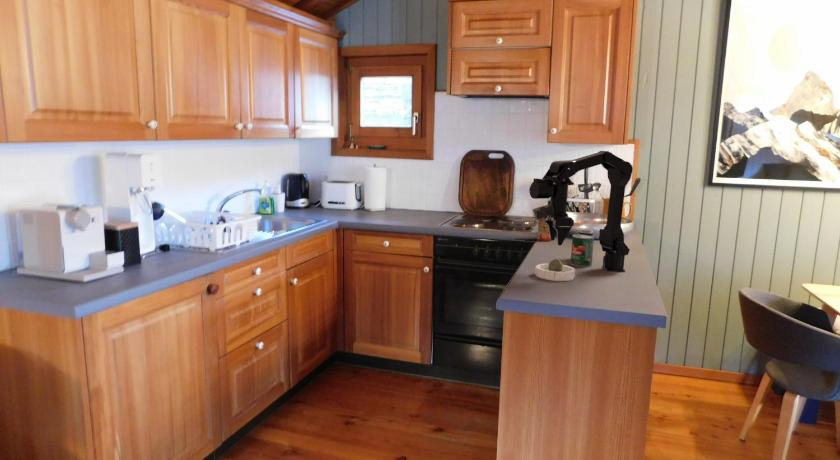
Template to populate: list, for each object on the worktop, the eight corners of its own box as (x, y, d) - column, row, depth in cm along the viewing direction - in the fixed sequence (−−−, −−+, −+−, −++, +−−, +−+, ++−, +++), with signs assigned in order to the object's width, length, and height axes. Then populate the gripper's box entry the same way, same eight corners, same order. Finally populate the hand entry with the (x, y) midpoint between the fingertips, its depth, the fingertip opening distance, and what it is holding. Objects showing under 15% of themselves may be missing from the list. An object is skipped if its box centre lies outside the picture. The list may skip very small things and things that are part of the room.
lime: (562, 275, 196) (563, 261, 195) (547, 274, 197) (548, 260, 196) (562, 272, 200) (563, 258, 200) (547, 271, 201) (548, 257, 201)
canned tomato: (594, 264, 220) (596, 236, 219) (588, 268, 214) (591, 238, 212) (573, 261, 224) (575, 233, 222) (567, 265, 218) (569, 236, 216)
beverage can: (579, 257, 233) (582, 227, 231) (593, 259, 229) (595, 229, 227) (573, 259, 229) (576, 229, 227) (587, 261, 225) (590, 231, 223)
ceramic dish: (568, 272, 205) (568, 264, 205) (578, 281, 193) (579, 272, 192) (532, 271, 205) (532, 263, 205) (540, 280, 192) (540, 271, 192)
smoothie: (535, 241, 265) (538, 197, 262) (536, 238, 273) (539, 196, 270) (554, 242, 263) (557, 198, 260) (554, 239, 271) (557, 197, 268)
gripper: (529, 194, 207) (527, 237, 210) (542, 201, 189) (539, 247, 191) (560, 195, 207) (557, 238, 210) (575, 201, 189) (572, 248, 192)
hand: (555, 242), depth 201 cm, fingers open, 9 cm apart
